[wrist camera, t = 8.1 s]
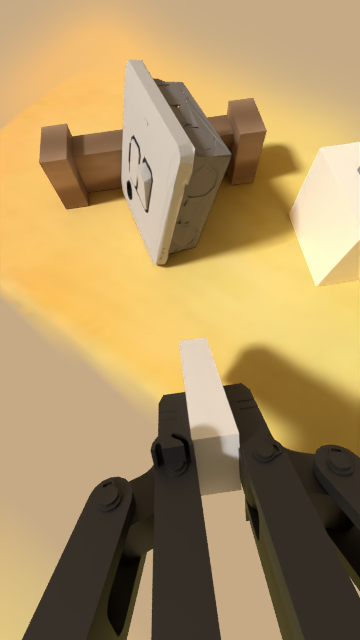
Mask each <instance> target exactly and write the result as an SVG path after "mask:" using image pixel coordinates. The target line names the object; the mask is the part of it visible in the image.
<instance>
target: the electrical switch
mask: <svg viewBox="0 0 360 640" xmlns="http://www.w3.org/2000/svg"><path fill="white" fill-rule="evenodd" d="M183 92H184V93H183ZM186 101H187V102H186ZM178 106H179V107H178ZM177 107H178V108H177ZM214 138H215V139H214ZM231 155H232V154H231V152H230V151H229V150H228V148H227V147H226V145H225V144H224V142H223V141H222V139H221V138H220V136H219V135H218V133H217V132H216V130H215V129H214V128H213V126H212V125H211V123H210V122H209V120H208V119H207V117H206V116H205V114H204V113H203V111H202V110H201V108H200V107H199V106H198V104H197V103H196V101H195V100H194V98H193V97H192V95H191V94H190V92H189V91H188V89H187V88H186V86H185V85H184V83H183V82H165V81H162V80H159V79H153V78H152V76H151V75H150V73H149V71H148V70H147V68H146V66H145V65H144V63H143V61H142V60H128V62H127V65H126V69H125V90H124V112H123V142H122V174H121V184H122V191H123V194H124V196H125V199H126V201H127V203H128V206H129V208H130V211H131V213H132V215H133V218H134V220H135V222H136V225H137V227H138V230H139V232H140V234H141V237H142V239H143V241H144V244H145V246H146V249H147V251H148V253H149V256H150V258H151V260H152V263H153V264H165V263H166V261H167V259H168V254H169V253H174V252H178V251H180V250H184V249H189V248H195V247H196V244H197V242H198V239H199V237H200V234H201V232H202V229H203V227H204V224H205V222H206V219H207V217H208V214H209V212H210V209H211V207H212V204H213V202H214V199H215V197H216V194H217V192H218V189H219V187H220V184H221V182H222V179H223V177H224V174H225V172H226V169H227V167H228V164H229V162H230V159H231V157H219V156H231ZM186 222H188V223H186Z"/></svg>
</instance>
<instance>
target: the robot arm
mask: <svg viewBox="0 0 360 640" xmlns="http://www.w3.org/2000/svg"><path fill="white" fill-rule="evenodd" d="M179 347H180V355H181V362H182V370H183V378H184V385H185V392H182V393H175V394H168V395H163V397H162V399H161V401H160V402H159V420H158V421H159V423H158V437H157V438H156V439H155V441H154V442H153V443H152V447H151V454H152V458H153V463H154V465H153V467H152V468H151V469H150V470H149V471H148V472H146V473H145V474H143V475H142V476H140V477H138V478H136V479H133V480H131V481H129V482H128V481H127V480H126V479H124V478H121V477H112V478H109V479H106V480H104V481H102V482H101V483H100V484H99V485H98V486H97V487H95V488H94V490H93V491H92V493H91V495H90V496H89V498H88V500H87V502H86V504H85V507H84V509H83V511H82V513H81V515H80V517H79V520H78V521H77V524H76V526H75V528H74V530H73V532H72V534H71V536H70V539H69V541H68V543H67V545H66V547H65V549H64V551H63V553H62V556H61V558H60V560H59V562H58V564H57V566H56V568H55V571H54V573H53V575H52V577H51V579H50V581H49V583H48V586H47V588H46V590H45V592H44V594H43V596H42V598H41V600H40V602H39V605H38V607H37V609H36V611H35V613H34V615H33V617H32V619H31V622H30V624H29V626H28V628H27V630H26V632H25V634H24V637H23V639H22V640H127V636H128V632H129V627H130V623H131V619H132V614H133V610H134V606H135V602H136V597H137V593H138V589H139V584H140V580H141V576H142V572H143V567H144V563H145V559H146V554H147V552H148V551H149V550H151V549H153V589H152V637H151V640H221V636H220V629H219V622H218V615H217V607H216V600H215V594H214V587H213V579H212V572H211V565H210V558H209V550H208V543H207V536H206V530H205V522H204V515H203V508H202V500H201V496H202V495H209V494H216V493H223V492H230V491H236V490H241V484H242V487H243V491H244V494H245V511H246V521H250V524H251V528H252V531H253V535H254V538H255V542H256V546H257V549H258V553H259V557H260V560H261V564H262V567H263V571H264V574H265V578H266V582H267V585H268V589H269V592H270V596H271V599H272V603H273V607H274V610H275V614H276V617H277V621H278V625H279V628H280V632H281V635H282V639H283V640H360V597H359V595H358V593H357V591H356V589H355V587H354V585H353V583H352V581H353V582H354V584H355V585H356V586H357V588H358V589H359V591H360V458H359V457H358V456H357V455H355V454H354V453H353V452H351V451H350V450H348V449H346V448H343V447H341V446H336V445H325V446H321V447H320V448H319V449H317V450H316V453H315V455H314V454H307V453H301V452H295V451H291V450H289V449H287V448H284V447H283V446H282V445H281V444H280V443H279V442H277V441H276V440H275V439H274V438H273V436H272V435H271V433H270V431H269V429H268V426H267V424H266V422H265V420H264V418H263V416H262V414H261V412H260V410H259V408H258V406H257V404H256V402H255V401H254V397H253V395H252V393H251V391H250V390H249V389H248V388H247V387H246V386H244V385H243V384H242V383H240V384H233V385H226V386H223V385H222V382H221V379H220V376H219V374H218V371H217V368H216V365H215V362H214V359H213V356H212V353H211V350H210V347H209V344H208V342H207V339H206V338H199V339H192V340H185V341H179ZM350 578H351V579H352V581H351V579H350Z"/></svg>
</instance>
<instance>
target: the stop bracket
mask: <svg viewBox="0 0 360 640" xmlns="http://www.w3.org/2000/svg"><path fill="white" fill-rule="evenodd" d="M227 111H228V112H227V115H222V116H215V117H208V118H207V119H208V120H209V122H210V123H211V125H212V126H213V128H214V129H215V130H216V132H217V133H218V135H219V136H220V138H221V139H222V141H223V142H224V144H225V145H226V147H227V148H228V150H229V151H230V152H231V154H232V155H231V156H219V157H231V159H230V162H229V164H228V167H227V169H226V172H225V173H227V172H228V175H229V179H230V182H231V185H236V184H243V183H249V182H253V181H254V177H255V173H256V169H257V165H258V162H259V158H260V154H261V150H262V146H263V142H264V139H265V135H266V131H267V130H266V128H265V126H264V123H263V121H262V118H261V116H260V113H259V111H258V108H257V106H256V104H255V101H254V99H253V98H248V99H242V100H234V101H229V102H228V110H227ZM214 139H215V138H214ZM122 142H123V129H122V130H115V131H108V132H101V133H94V134H87V135H80V136H72V135H71V133H70V130H69V128H68V125H67V124H61V125H54V126H47V127H42V128H41V144H40V159H39V163H40V165H41V167H42V168H43V170H44V172H45V173H46V175H47V177H48V179H49V180H50V182H51V184H52V185H53V187H54V189H55V191H56V192H57V194H58V196H59V197H60V199H61V201H62V203H63V204H64V206H65V208H66V209H71V208H77V207H84V206H89V204H88V193H89V192H96V191H103V190H110V189H117V188H122V184H121V174H122Z"/></svg>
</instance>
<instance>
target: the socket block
mask: <svg viewBox="0 0 360 640" xmlns="http://www.w3.org/2000/svg"><path fill="white" fill-rule="evenodd" d="M289 217H290V220H291V223H292V225H293V228H294V230H295V233H296V236H297V238H298V241H299V243H300V246H301V249H302V251H303V254H304V256H305V259H306V262H307V264H308V267H309V269H310V272H311V275H312V277H313V280H314V283H315V285H316V287H318V286H324V285H331V284H337V283H344V282H351V281H357V280H360V142H356V143H349V144H343V145H335V146H328V147H321V148H320V149H319V151H318V154H317V156H316V158H315V160H314V162H313V164H312V166H311V168H310V171H309V173H308V175H307V177H306V179H305V181H304V183H303V185H302V188H301V190H300V192H299V194H298V196H297V198H296V200H295V202H294V204H293V207H292V209H291V211H290V213H289Z"/></svg>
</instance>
